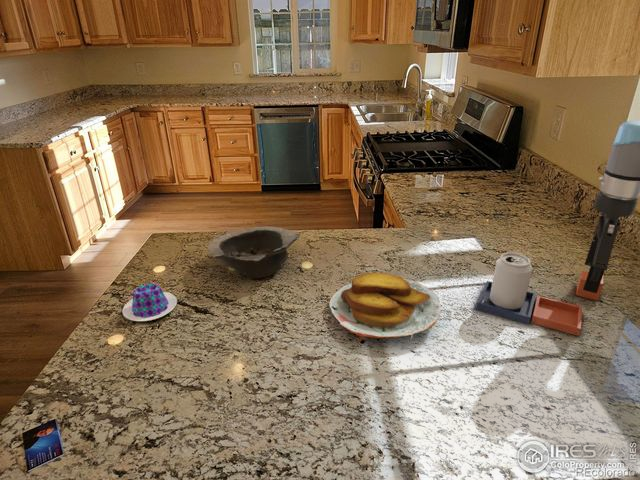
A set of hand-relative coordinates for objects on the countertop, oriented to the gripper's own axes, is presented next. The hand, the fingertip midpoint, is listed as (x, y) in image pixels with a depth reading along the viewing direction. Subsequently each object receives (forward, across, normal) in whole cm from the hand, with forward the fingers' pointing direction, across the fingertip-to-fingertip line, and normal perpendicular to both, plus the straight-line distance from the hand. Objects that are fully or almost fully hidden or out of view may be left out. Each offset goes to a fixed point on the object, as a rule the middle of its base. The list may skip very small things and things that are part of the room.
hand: (590, 277), depth 102 cm
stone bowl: (+6, +29, -80) cm, 85 cm away
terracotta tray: (+4, +15, -5) cm, 17 cm away
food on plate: (+5, +32, -40) cm, 51 cm away
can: (+4, +15, -16) cm, 22 cm away
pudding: (+6, +58, -88) cm, 105 cm away
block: (+4, 0, 0) cm, 4 cm away
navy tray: (+4, +15, -16) cm, 22 cm away
